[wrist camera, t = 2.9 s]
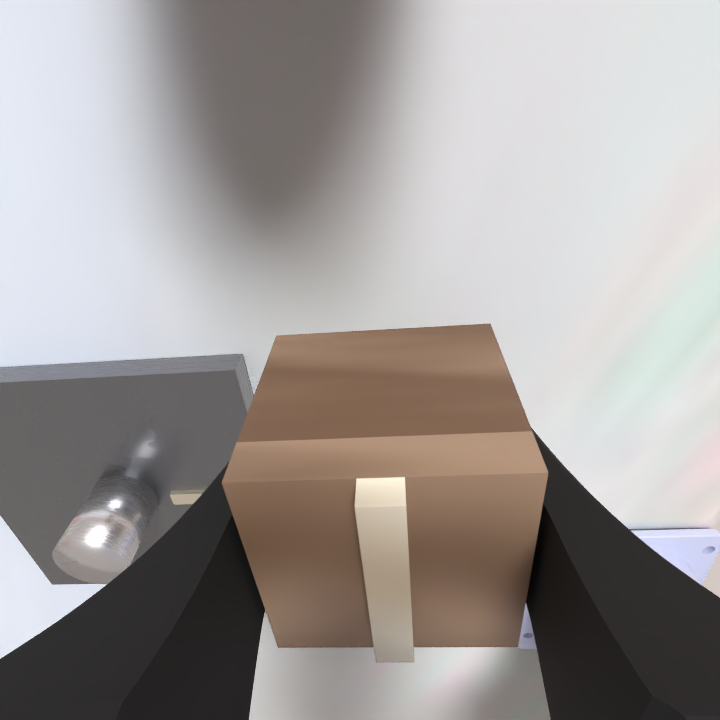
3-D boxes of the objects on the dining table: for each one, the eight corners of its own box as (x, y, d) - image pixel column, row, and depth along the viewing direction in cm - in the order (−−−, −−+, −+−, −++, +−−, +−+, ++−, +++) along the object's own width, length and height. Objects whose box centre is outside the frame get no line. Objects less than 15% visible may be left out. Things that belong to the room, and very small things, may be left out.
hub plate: (296, 560, 23) (282, 646, 20) (63, 565, 24) (13, 648, 21) (242, 353, 17) (208, 430, 14) (-74, 371, 18) (-178, 446, 15)
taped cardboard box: (479, 477, 15) (524, 676, 10) (307, 482, 15) (273, 676, 11) (490, 323, 12) (560, 502, 7) (276, 335, 12) (210, 511, 8)
